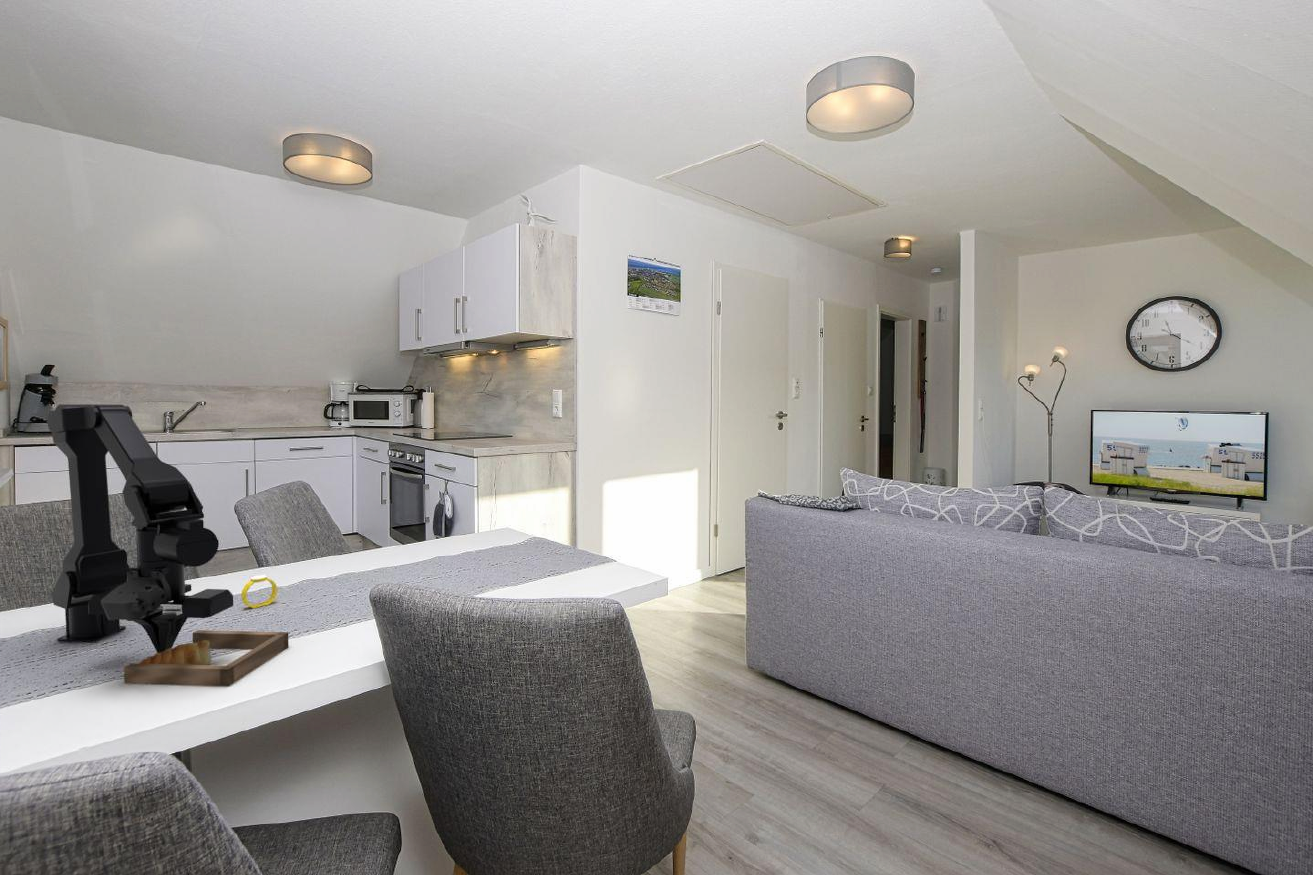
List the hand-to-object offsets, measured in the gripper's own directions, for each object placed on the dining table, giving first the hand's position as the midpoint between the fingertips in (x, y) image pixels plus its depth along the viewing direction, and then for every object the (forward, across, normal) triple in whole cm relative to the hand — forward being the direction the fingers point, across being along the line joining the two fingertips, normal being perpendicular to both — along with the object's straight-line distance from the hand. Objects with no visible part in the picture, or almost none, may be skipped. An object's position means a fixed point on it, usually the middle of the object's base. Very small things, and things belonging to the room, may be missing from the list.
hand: (164, 655), depth 98 cm
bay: (+1, +8, 0) cm, 8 cm away
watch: (+2, -2, +27) cm, 27 cm away
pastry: (+2, +4, -2) cm, 5 cm away
